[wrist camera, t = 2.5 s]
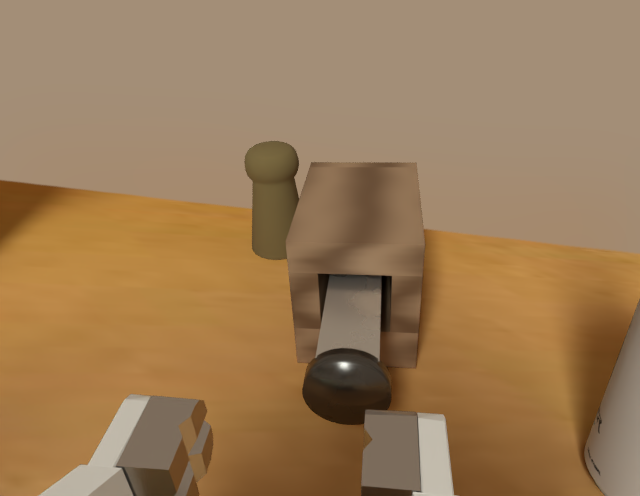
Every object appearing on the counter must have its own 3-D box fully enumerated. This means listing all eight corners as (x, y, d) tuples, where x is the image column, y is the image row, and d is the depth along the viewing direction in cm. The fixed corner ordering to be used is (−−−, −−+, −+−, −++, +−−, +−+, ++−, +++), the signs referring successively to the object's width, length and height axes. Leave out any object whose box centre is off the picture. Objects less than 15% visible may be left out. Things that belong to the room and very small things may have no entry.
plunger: (305, 421, 30) (299, 361, 27) (327, 291, 41) (324, 238, 38) (390, 427, 30) (392, 366, 27) (390, 293, 40) (392, 240, 37)
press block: (297, 362, 39) (285, 241, 33) (317, 266, 50) (311, 162, 44) (415, 368, 38) (425, 244, 32) (410, 268, 49) (416, 162, 43)
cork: (299, 225, 57) (292, 130, 51) (316, 252, 52) (309, 151, 46) (246, 235, 56) (232, 140, 50) (258, 264, 51) (244, 162, 45)
